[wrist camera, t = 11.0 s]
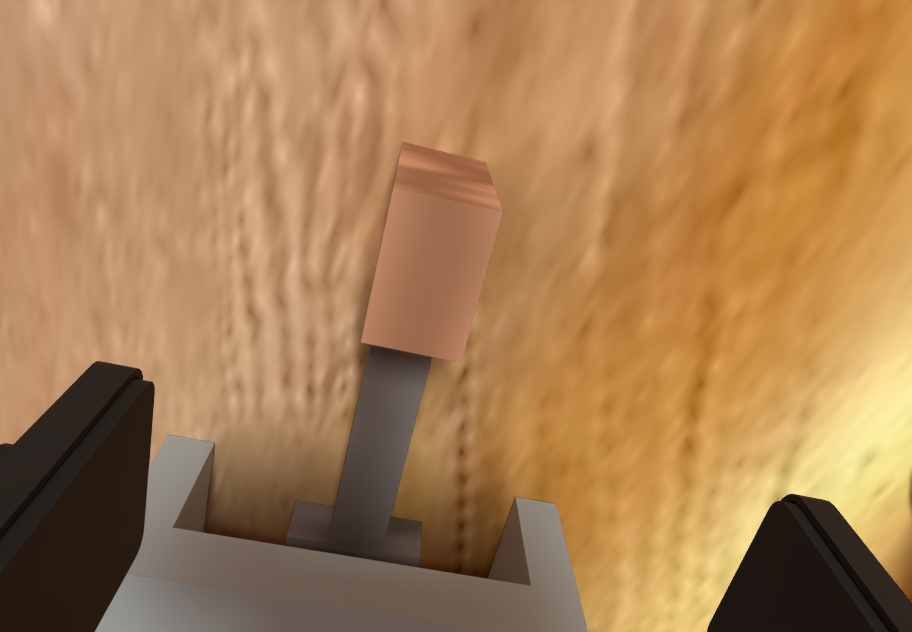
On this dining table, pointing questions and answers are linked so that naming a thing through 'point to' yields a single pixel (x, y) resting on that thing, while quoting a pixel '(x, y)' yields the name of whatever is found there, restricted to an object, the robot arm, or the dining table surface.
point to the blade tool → (406, 346)
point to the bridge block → (326, 574)
